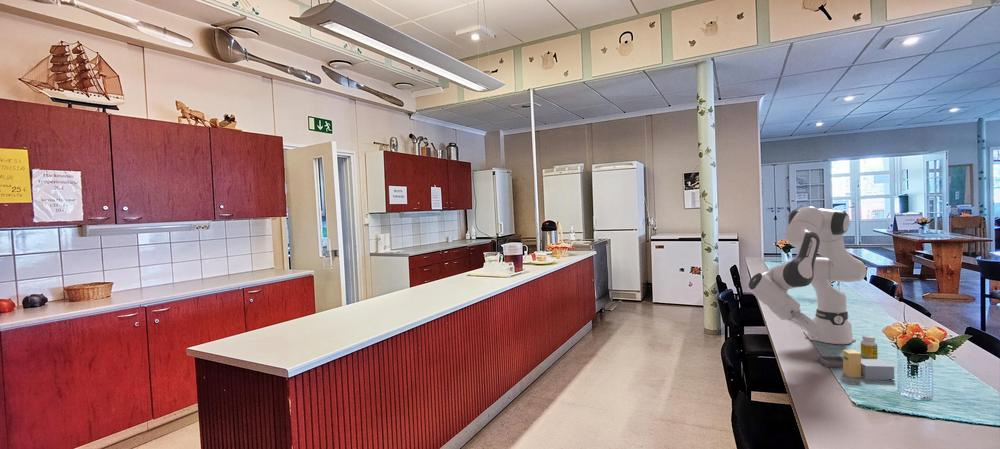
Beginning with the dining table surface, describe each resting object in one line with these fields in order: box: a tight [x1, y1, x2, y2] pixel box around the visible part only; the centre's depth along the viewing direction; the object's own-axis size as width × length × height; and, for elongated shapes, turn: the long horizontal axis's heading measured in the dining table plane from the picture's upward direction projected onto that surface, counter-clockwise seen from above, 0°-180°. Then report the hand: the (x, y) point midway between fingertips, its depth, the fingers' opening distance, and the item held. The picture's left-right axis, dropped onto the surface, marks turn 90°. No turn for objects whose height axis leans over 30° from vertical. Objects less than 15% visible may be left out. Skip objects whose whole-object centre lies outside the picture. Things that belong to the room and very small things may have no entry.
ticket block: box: [860, 358, 895, 381], centre depth 168 cm, size 8×9×5 cm
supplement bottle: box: [860, 334, 879, 359], centre depth 185 cm, size 5×5×10 cm
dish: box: [816, 355, 843, 369], centre depth 182 cm, size 9×9×2 cm
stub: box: [842, 349, 862, 378], centre depth 170 cm, size 4×4×9 cm
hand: (815, 334), depth 172 cm, fingers open, 8 cm apart
